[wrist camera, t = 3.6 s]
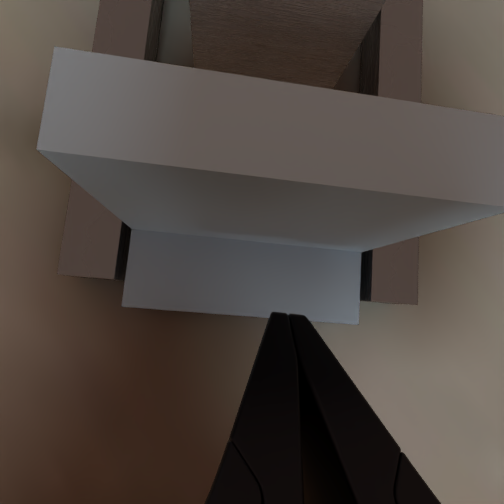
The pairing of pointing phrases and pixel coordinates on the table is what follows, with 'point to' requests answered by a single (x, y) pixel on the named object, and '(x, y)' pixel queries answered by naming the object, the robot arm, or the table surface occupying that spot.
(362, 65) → the vise
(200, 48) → the wooden block
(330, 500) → the robot arm
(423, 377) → the table surface
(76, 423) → the table surface
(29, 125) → the table surface
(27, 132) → the table surface
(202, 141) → the jaw
